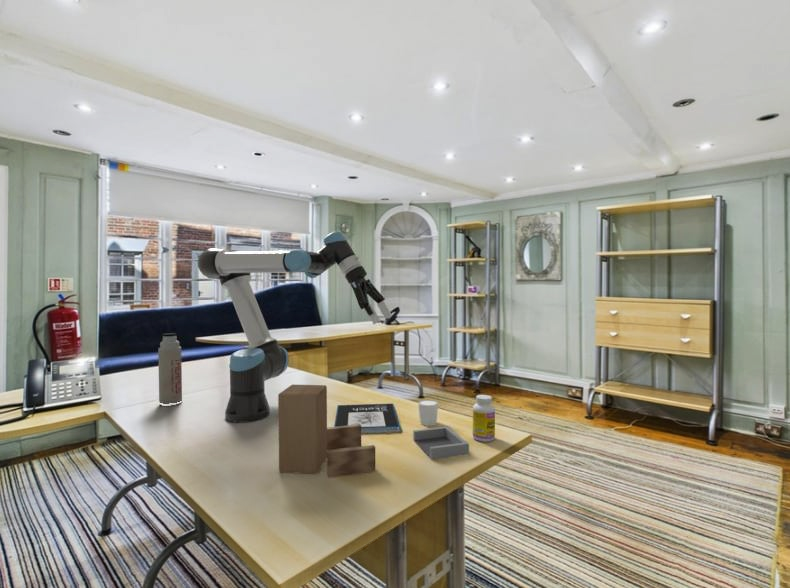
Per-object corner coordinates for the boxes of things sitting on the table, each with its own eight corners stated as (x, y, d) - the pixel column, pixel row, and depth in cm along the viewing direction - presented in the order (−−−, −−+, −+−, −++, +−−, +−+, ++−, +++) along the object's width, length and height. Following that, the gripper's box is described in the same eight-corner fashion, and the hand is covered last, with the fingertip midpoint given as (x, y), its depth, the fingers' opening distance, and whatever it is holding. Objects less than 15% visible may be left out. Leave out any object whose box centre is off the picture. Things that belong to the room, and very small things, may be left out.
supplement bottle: (488, 444, 120) (488, 401, 120) (468, 438, 125) (468, 397, 124) (498, 438, 125) (499, 396, 125) (479, 432, 129) (479, 392, 129)
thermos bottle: (186, 402, 163) (185, 332, 163) (166, 407, 157) (165, 335, 156) (175, 399, 168) (173, 331, 167) (155, 404, 161) (153, 333, 160)
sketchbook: (393, 406, 160) (393, 401, 159) (401, 435, 130) (401, 428, 130) (337, 408, 158) (337, 402, 157) (333, 437, 128) (333, 430, 128)
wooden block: (327, 457, 111) (327, 384, 111) (317, 474, 101) (316, 394, 101) (292, 456, 112) (291, 384, 112) (278, 472, 102) (277, 393, 102)
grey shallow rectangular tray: (431, 459, 110) (431, 448, 110) (413, 440, 124) (413, 430, 123) (468, 454, 113) (468, 443, 113) (447, 435, 127) (447, 426, 127)
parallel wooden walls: (327, 477, 100) (327, 453, 100) (319, 449, 117) (319, 428, 117) (375, 470, 103) (375, 447, 103) (360, 444, 121) (360, 424, 120)
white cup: (442, 422, 139) (442, 402, 139) (429, 428, 134) (429, 407, 134) (426, 418, 144) (426, 398, 143) (414, 423, 139) (413, 402, 138)
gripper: (347, 265, 136) (380, 319, 134) (372, 264, 160) (401, 310, 158) (330, 277, 138) (362, 330, 137) (357, 274, 162) (385, 320, 160)
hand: (383, 319), depth 147 cm, fingers open, 13 cm apart
